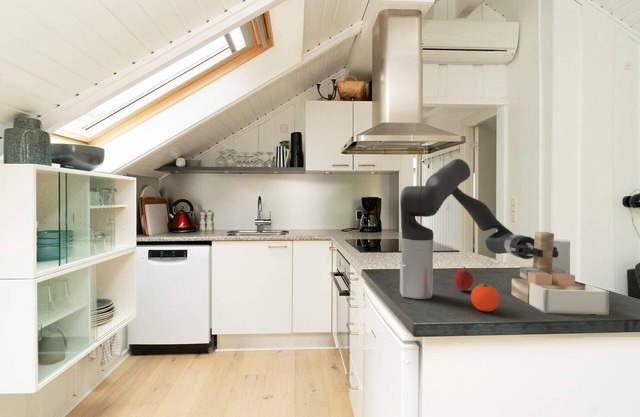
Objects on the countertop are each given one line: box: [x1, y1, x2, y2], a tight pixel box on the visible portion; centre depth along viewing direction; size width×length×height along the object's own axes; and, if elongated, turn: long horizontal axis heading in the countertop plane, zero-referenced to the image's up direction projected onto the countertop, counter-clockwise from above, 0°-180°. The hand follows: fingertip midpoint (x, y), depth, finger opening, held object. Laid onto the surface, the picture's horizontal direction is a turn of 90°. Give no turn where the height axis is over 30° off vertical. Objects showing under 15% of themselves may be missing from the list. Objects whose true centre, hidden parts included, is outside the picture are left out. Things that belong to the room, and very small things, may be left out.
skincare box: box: [552, 238, 571, 274], centre depth 126 cm, size 8×7×16 cm
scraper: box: [519, 231, 565, 280], centre depth 107 cm, size 11×4×14 cm, turn 86°
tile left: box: [527, 272, 552, 285], centre depth 103 cm, size 4×4×3 cm
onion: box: [453, 265, 474, 292], centre depth 113 cm, size 6×6×8 cm
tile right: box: [549, 272, 576, 286], centre depth 102 cm, size 4×4×3 cm
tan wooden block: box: [511, 277, 585, 305], centre depth 104 cm, size 16×10×5 cm, turn 85°
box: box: [528, 283, 610, 316], centre depth 95 cm, size 16×8×6 cm, turn 85°
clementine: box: [470, 283, 501, 312], centre depth 93 cm, size 8×7×7 cm
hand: (549, 253), depth 103 cm, fingers closed on scraper, 3 cm apart
